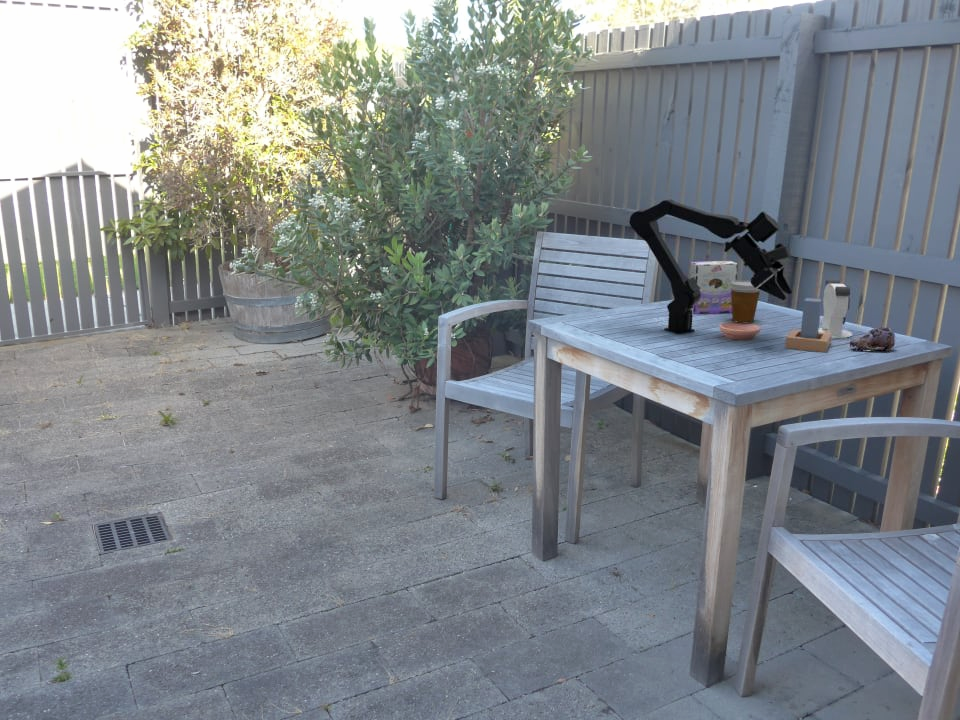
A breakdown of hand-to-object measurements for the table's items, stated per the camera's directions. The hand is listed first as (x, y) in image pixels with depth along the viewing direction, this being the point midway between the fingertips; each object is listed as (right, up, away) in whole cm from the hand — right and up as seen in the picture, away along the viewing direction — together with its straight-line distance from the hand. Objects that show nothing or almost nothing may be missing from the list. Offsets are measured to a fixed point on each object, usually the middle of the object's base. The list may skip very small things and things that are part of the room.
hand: (788, 296), depth 232 cm
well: (+6, -14, +1) cm, 15 cm away
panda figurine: (+18, -10, +14) cm, 25 cm away
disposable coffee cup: (-3, -6, +30) cm, 31 cm away
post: (+6, -14, +1) cm, 15 cm away
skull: (+21, -15, -3) cm, 26 cm away
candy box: (-9, -2, +43) cm, 44 cm away
